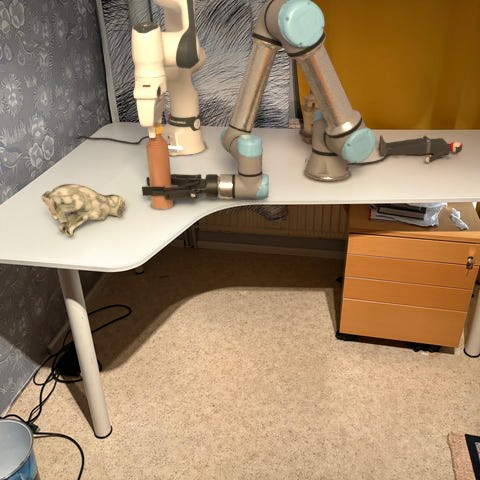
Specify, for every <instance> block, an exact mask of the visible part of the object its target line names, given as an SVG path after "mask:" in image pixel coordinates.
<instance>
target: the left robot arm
mask: <svg viewBox="0 0 480 480" xmlns="http://www.w3.org/2000/svg"><path fill="white" fill-rule="evenodd" d="M151 1H152V2H153V3H154V4H155V5H157V6H158V7H161V8H163V20H164V21H163V22H164V30H165V31H162V30H161V26H160V25H159V24H158V23H157V22H154V21H143V22H138V23H136V24H134V25H133V26H132V28H131V39H130V40H131V58H132V62H133V65H134V73H133V76H134V89H133V92H132V93H133V99H135V100H136V109H137V115H138V121H139V124H140V126H141V128H147V131H148V135H146V136H143V137H141V138H140V139H139V140H138V141H136V142H131V141H126V140H121V139H120V140H119V139H115V138H112V137H111V138H110V137H91V136H87V135H80V136H78V137H77V140H79V139H81V138H84V139H88V140H107V141H113V142H118V143H124V144H128V145H139V144H140V143H141V142H142V141H143V140H145V139H149V138H155V137H156V130H155V124H162V119H163V113H164V111H165V110H166V108H167V100H166V93H167V94H168V98H169V106H170V107H169V108H170V109H169V110H170V113H168V114H167V115H165V119H166V120H167V123H166V124H164V125H162V126H163V132H162V133H161V135H162V136H163V137H164V139H165V140H166V141H167V143H168V146H169V156H174V157H175V156H176V157H177V156H182V155H183V156H186V155H194V154H199V153H201V152H204V151H205V149H206V145H205V142H204V139H203V138H204V137H203V133H202V127H201V126H202V115H201V112H200V100H199V99H200V98H199V97H200V95H199V92H198V91H197V89H195V87H194V84H193V80H192V75H194V74H196V73H198V72H199V71H200V70H201V69H203V67H204V66H205V64H206V60H207V55H206V52H205V50H204V48H203V47H202V46H201V43H200V40H199V36H198V30H197V21H196V20H197V19H196V0H151Z"/></svg>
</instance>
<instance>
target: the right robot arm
mask: <svg viewBox="0 0 480 480" xmlns="http://www.w3.org/2000/svg"><path fill="white" fill-rule="evenodd" d="M325 23H326V22H325V17H324V13H323V11H322V9H321V8H320V7H319V6H318V4H316V3H315V2H314V1H312V0H267V1H266V2H265V3H264V5H263V6H262V8H261V10H260V11H259V14H258V16H257V19H256V22H255V25H254V27H253V31H252V34H251V40H252V46H251V49H250V53H249V56H248V60H247V63H246V66H245V69H244V73H243V76H242V79H241V83H240V86H239V89H238V93H237V96H236V99H235V103H234V106H233V109H232V112H231V115H230V120H229V122H228V125H227V127H226V128H224V130H222V132H221V133H220V136H219V140H220V144H221V146H222V148H223V149H224V150H225V151H226V152H227V153H229V154H230V155H231V157H233V158H234V160H235V161H236V162H237V173H220V174H219V175H218V174H216V173H214V174H213V173H210V174H209V173H208V174H206V175H205V177H204V178H202V174H201V173H200V174H199V173H198V174H184V173H183V174H181V173H171V184H172V187H169V188H165V186H163V187H150V180H149V176H146V178H145V179H146V186H142V187H141V193H142V196H143V197H151V196H164V197H165V199H166V200H168V199H173V200H187V199H188V200H198V198H199V196H200V195H205V198H207V199H213V200H217V199H218V198H219V199H227V200H230V199H232V200H233V199H241V200H243V199H245V200H246V199H247V200H248V199H249V200H259V199H261V200H262V199H266V198H268V197H269V193H270V192H269V191H270V188H269V187H270V186H269V185H270V183H269V182H270V181H269V180H270V176H269V175H268V174H266V173H263V155H264V154H263V152H264V147H263V139H262V138H261V136H260V135H256V134H253V133H252V131H253V128H254V124H255V122H256V119H257V115H258V112H259V109H260V106H261V102H262V100H263V97H264V94H265V91H266V88H267V86H268V85H267V84H268V82H269V78H270V75H271V72H272V69H273V66H274V62H275V59H276V57H277V53H278V51H280V50H281V49H284V51H285V53H286V56H287V57H288V58H289V59H293V60H295V61H296V63H297V66H298V67H299V69H300V71H301V74H303V77H304V79H305V81H306V84H307V85H308V88H309V90H310V89H311V91H312V94H313V96H314V98H315V100H316V102H317V104H318V106H319V108H320V109H319V110H317V111H315V113H314V118H313V135H312V143H311V153H310V155H309V158H308V160H307V157H306V158H305V160H307V161H305V164H306V166H305V169H304V170H305V171H304V173H305V175H306V176H307V178H309V179H311V180H313V181H314V180H315V181H316V182H317V181H318V182H324V183H325V182H326V183H335V182H341V181H343V180H346V179H348V177H350V166H362V165H371V164H375V163H376V164H377V163H379V162H382V161H384V160H386V159H387V158H388V157H389V156H391V155H392V154H386V155H384V156H383V157H382V158H380V159H376V160H373V161H365V160H367V159H368V158H370V156H371V155H372V154H373V152H374V149H375V147H376V145H377V135H376V133H375V131H373V130H372V128H370V127H367V126H366V124H365V121H364V120H363V117H362V115H361V113H360V112H359V111H358V110H356V109H353V107H352V105H351V102H350V101H349V98H348V96H347V94H346V92H345V89H344V87H343V85H342V83H341V81H340V78H339V76H338V74H337V72H336V69H335V67H334V65H333V63H332V61H331V58H330V56H329V54H328V52H327V50H326V48H325V45H324V42H326V37H327V36H326V33H325V30H324V28H325ZM450 144H451V143H448V145H450Z"/></svg>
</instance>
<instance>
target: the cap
mask: <svg viewBox="0 0 480 480" xmlns="http://www.w3.org/2000/svg"><path fill="white" fill-rule="evenodd" d="M163 126H164V125H163V124H162V123H161V124H155V130H156V134H160V133H162V132H163Z"/></svg>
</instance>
